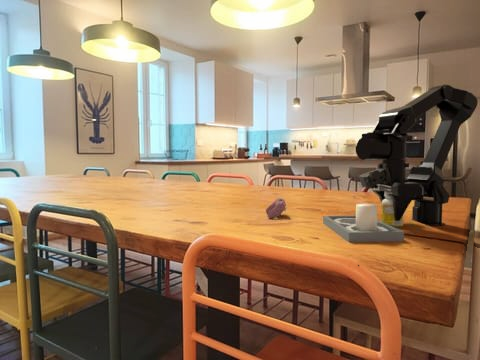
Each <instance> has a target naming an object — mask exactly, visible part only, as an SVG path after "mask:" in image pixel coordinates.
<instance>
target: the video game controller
mask: <svg viewBox="0 0 480 360" xmlns="http://www.w3.org/2000/svg"><path fill="white" fill-rule="evenodd" d="M286 206H287V204H286V200H285V199H284V198H282V197H279V198H276V199H275V200H274V202H272V203H271V204H270V205H269V206H268V207H266V209H265V213H266V214H267V218H268V219H269V218H270V219H275V218H279V217H281V214H282V213H283V212H286V211H287V207H286Z"/></svg>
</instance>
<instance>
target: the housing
mask: <svg viewBox="0 0 480 360" xmlns="http://www.w3.org/2000/svg"><path fill="white" fill-rule="evenodd" d="M322 224H323V225H325V226H326V227H327V228H328V229H330V230H331V231H332V232H334V233H335V234H337V235H338V236H340V237H341V238H342V239H343V240H345V241H347V242H348V243H373V242H374V243H376V242H377V243H381V242H384V243H386V242H390V243H391V242H405V231H403V230H401V229H399V228H398V227H392V226H390V225H388V224H386V223H383V222H381V220H379V219H377V231H356V214H355V215H354V214H353V215H347V214H346V215H323V216H322Z"/></svg>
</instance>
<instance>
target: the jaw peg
mask: <svg viewBox="0 0 480 360" xmlns="http://www.w3.org/2000/svg"><path fill="white" fill-rule="evenodd" d="M378 206H379V205H377V204H374V203H373V204H372V203H355V215H356V231H377V220H378V208H379V207H378Z"/></svg>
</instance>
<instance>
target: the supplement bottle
mask: <svg viewBox="0 0 480 360" xmlns="http://www.w3.org/2000/svg"><path fill="white" fill-rule="evenodd" d="M388 194H392V191H386V192H385V193H384V196H385V199H384V200H382V204H381V209H380V210H381V212H380V221H381V222H383V223H386V224H388V225H390V226H392V227H395V228H398V227H403V226H404V215H403V216H402V218H401V219H400V221H395V217H394V207H393V200H392V199H391V198H390V197H389V196H388Z"/></svg>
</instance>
